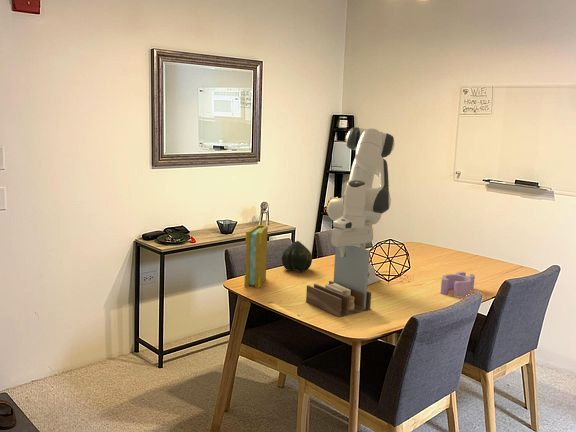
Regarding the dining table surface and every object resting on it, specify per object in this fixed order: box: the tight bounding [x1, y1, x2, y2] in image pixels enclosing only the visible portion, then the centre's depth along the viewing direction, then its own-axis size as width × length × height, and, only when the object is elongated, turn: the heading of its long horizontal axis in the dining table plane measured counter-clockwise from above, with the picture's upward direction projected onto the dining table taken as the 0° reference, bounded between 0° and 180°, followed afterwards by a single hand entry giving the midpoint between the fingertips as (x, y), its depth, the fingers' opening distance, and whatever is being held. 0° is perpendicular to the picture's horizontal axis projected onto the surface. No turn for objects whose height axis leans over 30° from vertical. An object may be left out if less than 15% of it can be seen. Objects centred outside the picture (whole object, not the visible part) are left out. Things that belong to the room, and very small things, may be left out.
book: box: [244, 224, 269, 288], centre depth 264 cm, size 17×7×25 cm, turn 168°
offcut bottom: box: [348, 303, 355, 311], centre depth 234 cm, size 5×14×2 cm, turn 37°
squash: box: [281, 240, 313, 273], centre depth 288 cm, size 14×15×15 cm
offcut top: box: [324, 283, 351, 297], centre depth 233 cm, size 5×10×2 cm, turn 34°
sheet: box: [333, 245, 371, 309], centre depth 235 cm, size 2×18×24 cm, turn 37°
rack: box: [304, 280, 373, 319], centre depth 233 cm, size 18×21×8 cm
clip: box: [439, 271, 476, 298], centre depth 264 cm, size 20×12×7 cm, turn 138°
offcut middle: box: [348, 296, 355, 304], centre depth 233 cm, size 5×12×2 cm, turn 40°
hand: (351, 255), depth 234 cm, fingers open, 8 cm apart
